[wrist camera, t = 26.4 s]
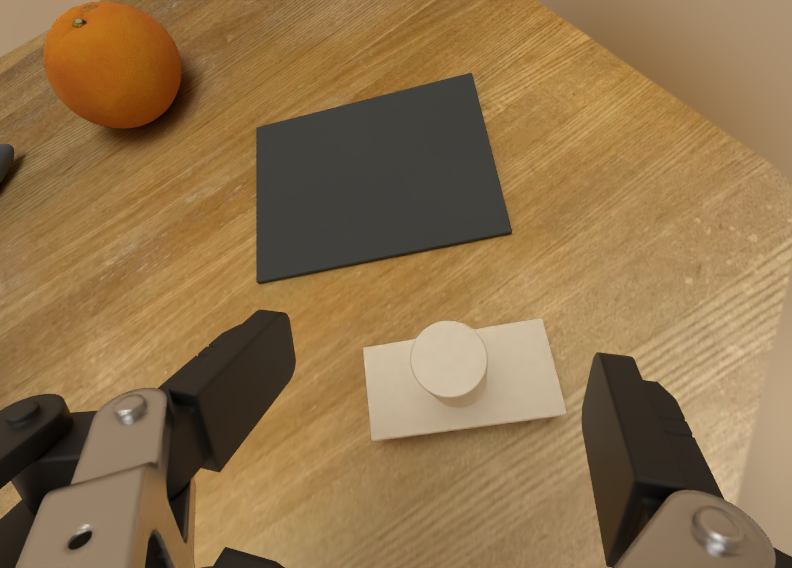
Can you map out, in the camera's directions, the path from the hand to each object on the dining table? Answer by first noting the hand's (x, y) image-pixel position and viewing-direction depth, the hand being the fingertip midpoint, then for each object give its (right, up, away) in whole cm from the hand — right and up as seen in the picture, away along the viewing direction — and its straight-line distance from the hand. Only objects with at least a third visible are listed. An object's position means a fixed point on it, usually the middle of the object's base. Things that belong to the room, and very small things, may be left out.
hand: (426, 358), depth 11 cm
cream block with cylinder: (+3, -4, +14) cm, 15 cm away
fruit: (-24, +19, +28) cm, 42 cm away
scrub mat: (-3, +10, +20) cm, 23 cm away
